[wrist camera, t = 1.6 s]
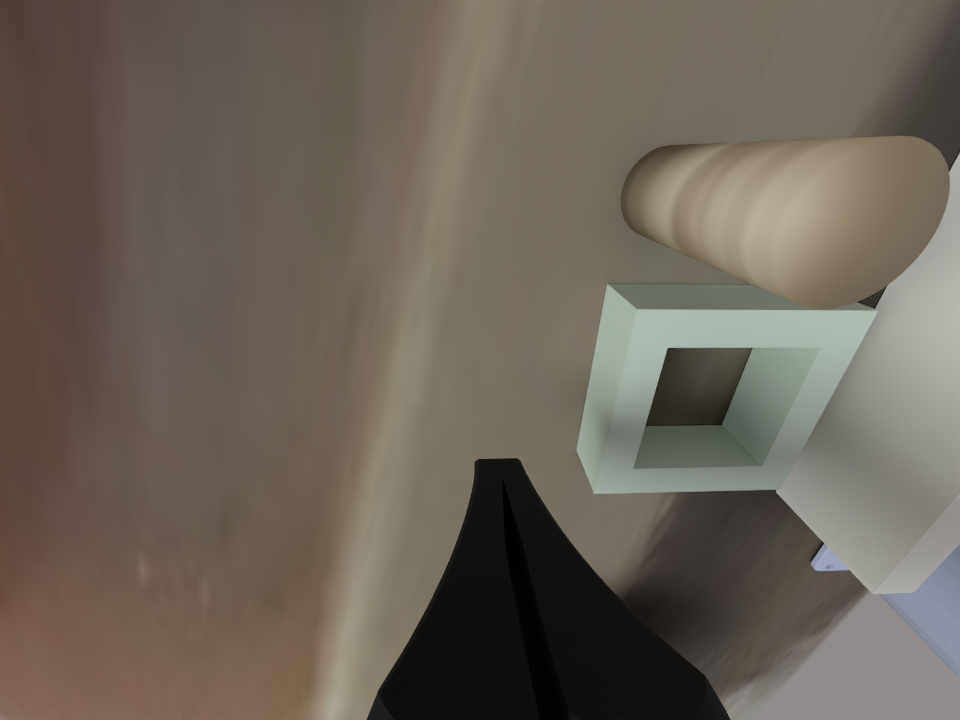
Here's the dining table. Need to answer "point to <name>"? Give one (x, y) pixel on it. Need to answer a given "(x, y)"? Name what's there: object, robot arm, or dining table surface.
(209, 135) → the dining table surface
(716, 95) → the dining table surface
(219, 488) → the dining table surface
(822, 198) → the dowel
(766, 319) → the socket block
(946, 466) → the wall
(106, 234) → the dining table surface
